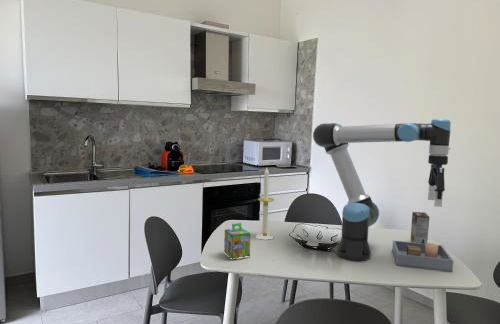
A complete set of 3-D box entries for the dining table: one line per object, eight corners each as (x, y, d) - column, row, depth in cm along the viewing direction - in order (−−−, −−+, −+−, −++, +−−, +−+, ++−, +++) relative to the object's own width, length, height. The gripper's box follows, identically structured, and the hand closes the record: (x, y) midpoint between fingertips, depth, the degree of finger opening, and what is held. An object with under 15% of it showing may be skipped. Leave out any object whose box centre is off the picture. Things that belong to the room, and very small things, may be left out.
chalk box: (231, 261, 161) (232, 228, 160) (223, 254, 169) (224, 222, 168) (250, 257, 166) (251, 225, 164) (241, 251, 174) (242, 220, 172)
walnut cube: (420, 261, 165) (420, 250, 164) (408, 259, 166) (408, 248, 165) (418, 257, 169) (418, 246, 169) (406, 255, 171) (407, 245, 170)
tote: (397, 265, 160) (397, 254, 160) (392, 250, 179) (393, 240, 179) (452, 271, 155) (453, 260, 154) (441, 255, 174) (442, 245, 173)
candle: (257, 233, 201) (258, 165, 196) (275, 235, 199) (277, 166, 194) (253, 239, 191) (255, 167, 187) (272, 241, 189) (275, 168, 185)
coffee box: (409, 241, 193) (412, 211, 191) (422, 242, 192) (425, 212, 190) (413, 247, 184) (416, 215, 183) (427, 248, 183) (430, 216, 181)
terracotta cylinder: (437, 263, 163) (439, 247, 162) (425, 261, 164) (426, 246, 163) (435, 259, 167) (436, 244, 167) (423, 257, 169) (424, 242, 168)
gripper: (455, 158, 147) (451, 210, 150) (441, 153, 171) (437, 198, 174) (435, 157, 149) (431, 208, 152) (423, 152, 173) (420, 196, 176)
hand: (434, 203), depth 163 cm, fingers open, 13 cm apart
